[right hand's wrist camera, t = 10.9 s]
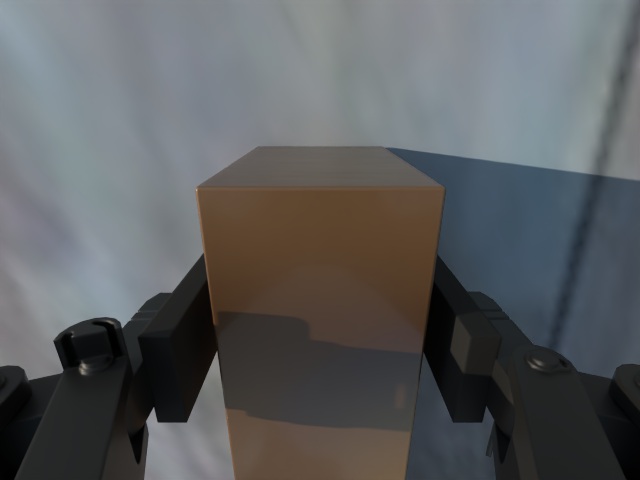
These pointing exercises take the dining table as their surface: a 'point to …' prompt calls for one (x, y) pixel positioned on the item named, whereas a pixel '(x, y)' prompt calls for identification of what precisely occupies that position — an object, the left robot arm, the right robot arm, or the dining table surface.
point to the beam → (320, 307)
